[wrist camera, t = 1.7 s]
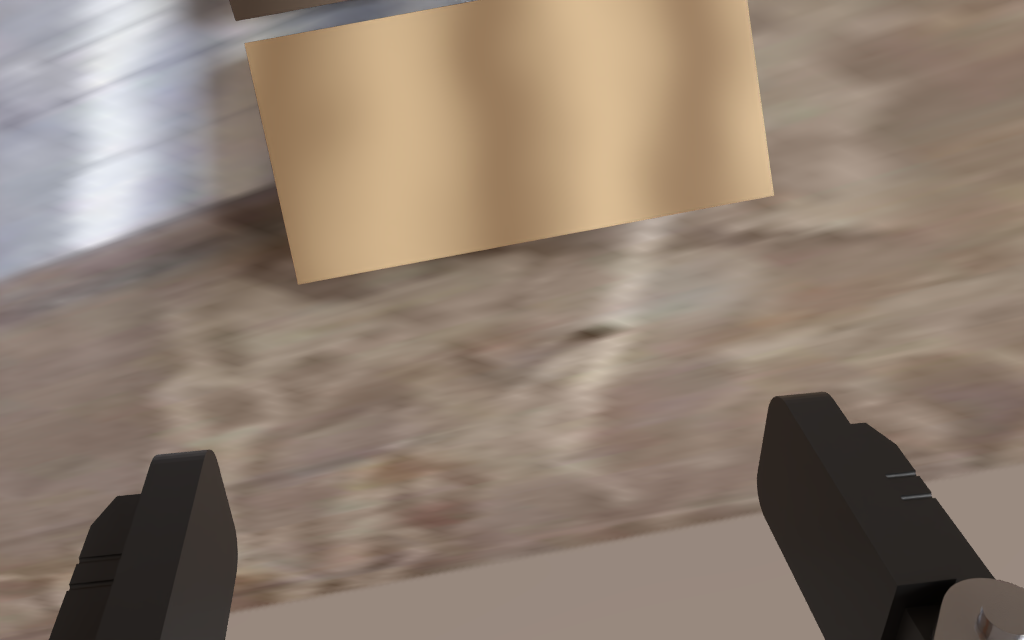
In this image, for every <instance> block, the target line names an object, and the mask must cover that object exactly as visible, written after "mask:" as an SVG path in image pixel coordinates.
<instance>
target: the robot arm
mask: <svg viewBox="0 0 1024 640" xmlns="http://www.w3.org/2000/svg"><path fill="white" fill-rule="evenodd" d="M757 489H758V497H759V502H760V506H761V509H762V512H763V515H764V517H765V519H766V521H767V523H768V525H769V527H770V529H771V531H772V533H773V535H774V537H775V539H776V541H777V543H778V545H779V547H780V549H781V551H782V553H783V555H784V557H785V559H786V561H787V563H788V565H789V567H790V569H791V571H792V573H793V575H794V578H795V580H796V582H797V584H798V585H799V587H800V590H801V592H802V593H803V596H804V597H805V600H806V602H807V604H808V605H809V608H810V610H811V612H812V613H813V616H814V618H815V620H816V622H817V624H818V626H819V628H820V630H821V632H822V634H823V636H824V638H825V640H1024V588H1022V587H1019V586H1017V585H1014V584H1012V583H1008V582H1005V581H1001V580H996V579H995V578H994V577H993V576H992V574H991V573H990V572H989V570H988V569H987V568H986V566H985V565H984V564H983V562H982V561H981V559H980V558H979V557H978V555H977V554H976V553H975V551H974V550H973V548H972V547H971V546H970V544H969V543H968V542H967V540H966V539H965V538H964V536H963V535H962V533H961V532H960V531H959V529H958V528H957V527H956V525H955V524H954V523H953V521H952V520H951V519H950V517H949V516H948V514H947V513H946V512H945V510H944V509H943V508H942V506H941V505H940V504H939V502H938V501H937V499H936V498H932V496H931V491H930V490H929V489H928V488H927V486H926V484H925V483H924V482H923V480H922V479H921V478H920V476H916V474H915V470H914V468H913V467H912V465H911V464H910V463H909V461H908V460H907V459H906V457H905V456H904V455H903V453H902V452H901V450H900V449H899V448H898V446H897V445H896V444H895V443H893V442H892V441H891V440H889V439H888V438H886V437H885V436H883V435H882V434H881V433H879V432H878V431H876V430H875V429H874V428H872V427H871V426H869V425H868V424H867V423H857V424H850V423H849V421H848V420H847V418H846V417H845V415H844V414H843V413H842V411H841V410H840V408H839V407H838V405H837V404H836V402H835V401H834V400H833V398H832V397H831V396H830V395H829V394H828V393H826V392H816V393H806V394H796V395H785V396H776V397H774V398H773V399H772V400H771V402H770V404H769V408H768V413H767V419H766V425H765V431H764V437H763V443H762V449H761V455H760V461H759V467H758V474H757ZM237 560H238V551H237V537H236V531H235V526H234V522H233V518H232V514H231V511H230V507H229V503H228V499H227V496H226V492H225V488H224V484H223V481H222V477H221V473H220V469H219V466H218V462H217V459H216V456H215V454H214V452H213V451H212V450H202V451H191V452H181V453H171V454H160V455H156V456H155V457H154V458H153V459H152V462H151V464H150V467H149V471H148V474H147V477H146V480H145V483H144V486H143V490H142V493H141V494H135V495H125V496H117V497H116V498H115V499H114V500H113V501H112V502H111V504H110V505H109V506H108V507H107V508H106V509H105V510H104V511H103V513H102V514H101V515H100V516H99V517H98V518H97V519H96V520H95V522H94V523H93V524H92V525H91V527H90V529H89V532H88V535H87V537H86V540H85V543H84V546H83V548H82V551H81V554H80V556H79V564H77V565H76V567H75V570H74V573H73V576H72V578H71V581H70V584H69V585H70V590H69V591H67V592H66V595H65V597H64V600H63V603H62V605H61V608H60V611H59V614H58V616H57V619H56V622H55V624H54V627H53V630H52V633H51V635H50V638H49V640H225V637H226V631H227V625H228V618H229V613H230V608H231V602H232V596H233V590H234V584H235V578H236V572H237Z"/></svg>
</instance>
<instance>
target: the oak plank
mask: <svg viewBox="0 0 1024 640" xmlns="http://www.w3.org/2000/svg"><path fill="white" fill-rule="evenodd" d="M244 44H245V48H246V53H247V57H248V62H249V66H250V71H251V75H252V80H253V84H254V89H255V93H256V98H257V102H258V107H259V111H260V116H261V120H262V125H263V129H264V134H265V138H266V142H267V147H268V151H269V156H270V160H271V165H272V169H273V174H274V178H275V183H276V187H277V192H278V196H279V201H280V205H281V210H282V214H283V219H284V223H285V228H286V232H287V237H288V241H289V246H290V250H291V255H292V259H293V264H294V268H295V273H296V277H297V282H298V284H304V283H309V282H314V281H320V280H325V279H330V278H336V277H341V276H346V275H352V274H357V273H363V272H368V271H373V270H379V269H384V268H389V267H395V266H400V265H405V264H411V263H416V262H421V261H427V260H432V259H437V258H443V257H448V256H453V255H459V254H464V253H469V252H475V251H480V250H485V249H491V248H496V247H501V246H507V245H512V244H518V243H523V242H528V241H534V240H539V239H544V238H550V237H555V236H560V235H566V234H571V233H576V232H582V231H587V230H592V229H598V228H603V227H608V226H614V225H619V224H624V223H630V222H635V221H640V220H646V219H651V218H657V217H662V216H667V215H673V214H678V213H683V212H689V211H694V210H699V209H705V208H710V207H715V206H721V205H726V204H731V203H737V202H742V201H747V200H753V199H758V198H763V197H769V196H774V193H773V185H772V178H771V171H770V163H769V156H768V149H767V142H766V134H765V127H764V120H763V112H762V105H761V98H760V90H759V83H758V76H757V69H756V61H755V54H754V47H753V39H752V32H751V25H750V17H749V10H748V3H747V0H477V1H472V2H466V3H461V4H455V5H450V6H445V7H439V8H434V9H428V10H423V11H417V12H412V13H407V14H401V15H396V16H390V17H385V18H379V19H374V20H369V21H363V22H358V23H352V24H347V25H341V26H336V27H331V28H325V29H320V30H314V31H309V32H303V33H298V34H292V35H287V36H282V37H276V38H271V39H265V40H260V41H254V42H249V43H244Z"/></svg>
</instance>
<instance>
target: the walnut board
mask: <svg viewBox="0 0 1024 640" xmlns="http://www.w3.org/2000/svg"><path fill="white" fill-rule="evenodd" d="M229 1H230V4H231V8H232V11H233V14H234V17H235V20H236V21H239V20H244V19H250V18H255V17H261V16H266V15H272V14H277V13H283V12H288V11H293V10H299V9H304V8H310V7H315V6H321V5H326V4H332V3H337V2H342V1H348V0H229Z"/></svg>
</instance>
